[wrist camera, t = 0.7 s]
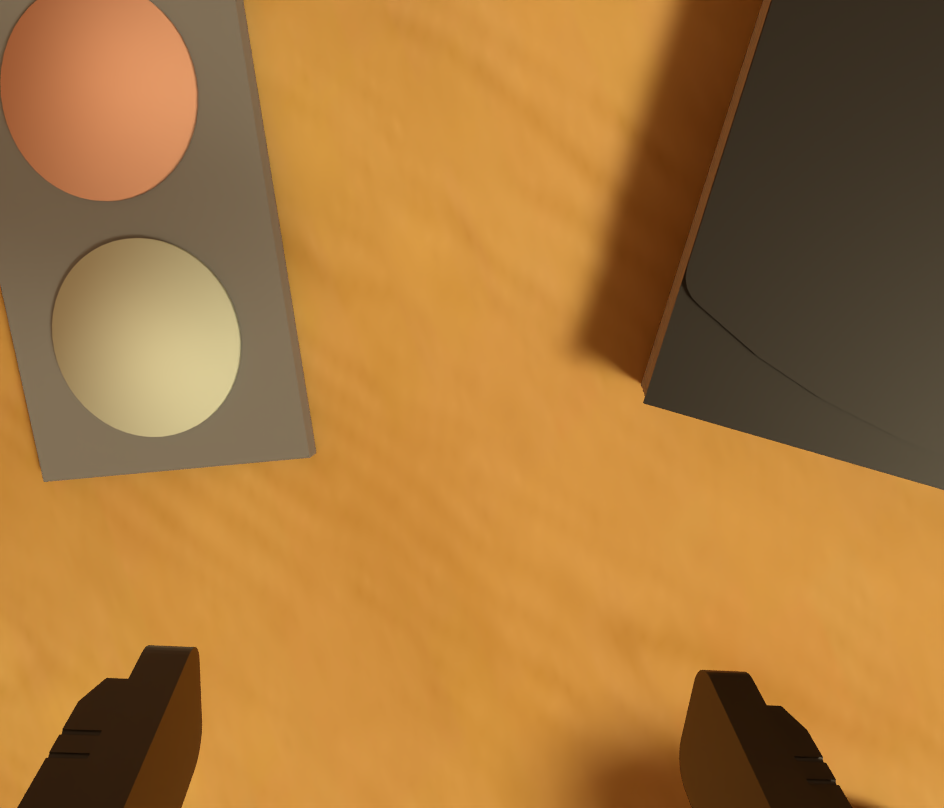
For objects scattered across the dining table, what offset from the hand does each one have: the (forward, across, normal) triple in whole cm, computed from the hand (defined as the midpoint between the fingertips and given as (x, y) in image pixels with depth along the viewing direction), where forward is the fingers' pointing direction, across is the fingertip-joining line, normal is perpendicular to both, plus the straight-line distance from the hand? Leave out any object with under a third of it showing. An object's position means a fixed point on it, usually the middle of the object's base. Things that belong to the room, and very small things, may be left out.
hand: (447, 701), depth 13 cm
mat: (+24, +13, -8) cm, 29 cm away
